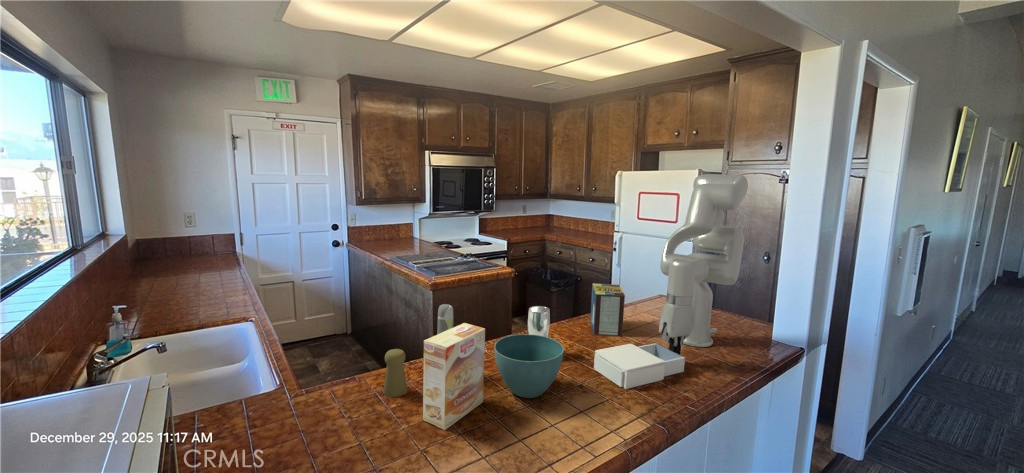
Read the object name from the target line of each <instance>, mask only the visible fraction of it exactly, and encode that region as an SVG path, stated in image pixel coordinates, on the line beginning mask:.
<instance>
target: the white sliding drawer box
mask: <svg viewBox="0 0 1024 473" xmlns="http://www.w3.org/2000/svg"><path fill="white" fill-rule="evenodd" d="M638 347H639V348H641V349H642V350H644V351H646V352H648V353H650V354H652V355H654V356H656V357H658V358H660V359H661V360H663V361H665V368H664V377H667V376H671V375H675V374H680V373H684V372H685V361H686V357H685V356H683V355H681V354H680V355H678V354H676V353H674V352H672V351H670V350H669V348H666V347H664V346H662V345H660V344H658V343H656V342H655V343H651V344H649V343H648V344H646V345H645V344H644V345H640V346H638ZM594 359H595V365H594V364H593V369H594V370H595V371H597V372H598V373H599V374H600V375H602V376H604V377H605V378H607V379H608V380H609V381H611V382H612V383H614V384H615V385H617V386H619V388H624V375H625V371H623V370H621V369H620V368H618V367H617V366H615V365H613V364H612V363H610V362H609V361H607V360H605V359H604V358H602V357H601V356H599V355H595V354H594Z"/></svg>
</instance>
